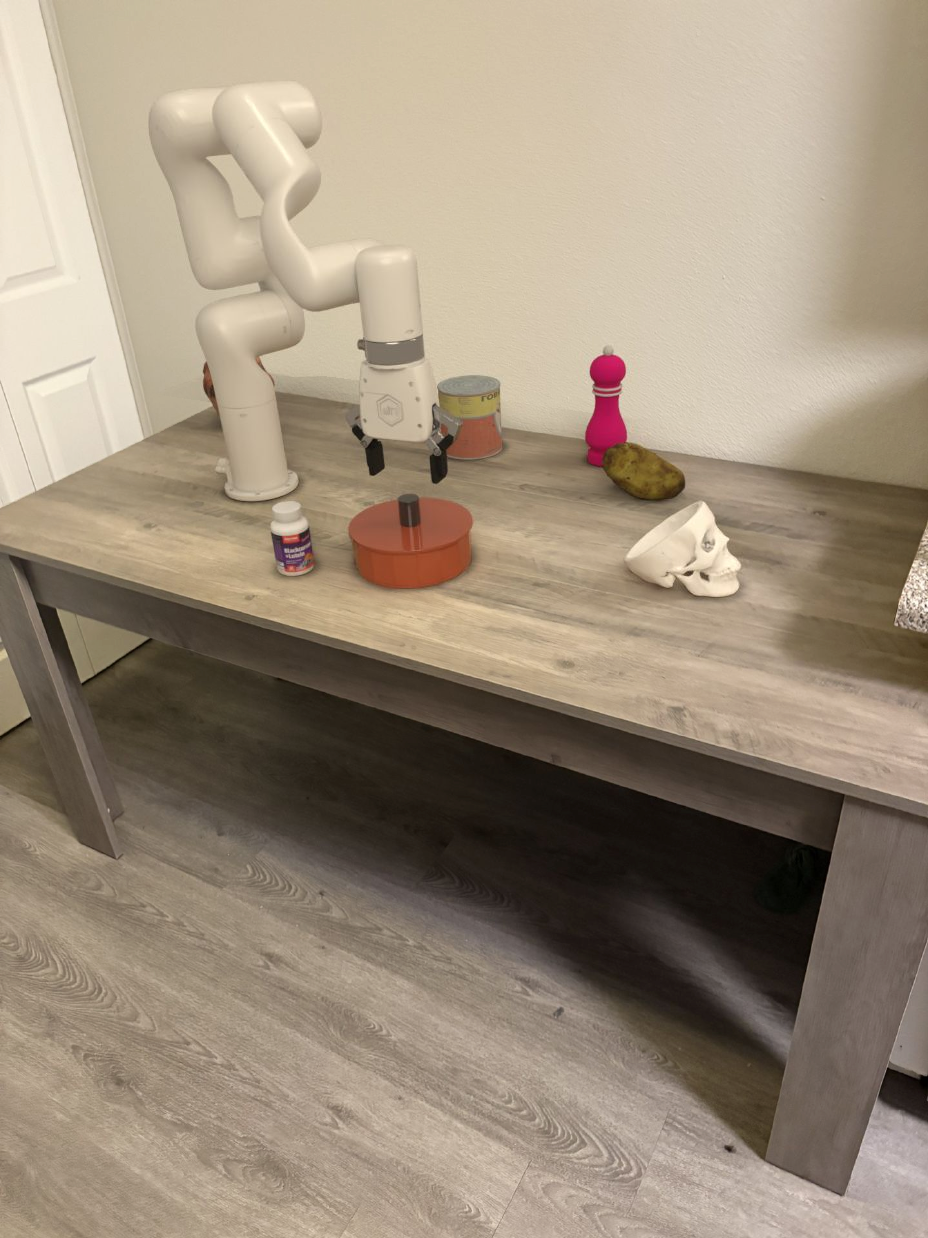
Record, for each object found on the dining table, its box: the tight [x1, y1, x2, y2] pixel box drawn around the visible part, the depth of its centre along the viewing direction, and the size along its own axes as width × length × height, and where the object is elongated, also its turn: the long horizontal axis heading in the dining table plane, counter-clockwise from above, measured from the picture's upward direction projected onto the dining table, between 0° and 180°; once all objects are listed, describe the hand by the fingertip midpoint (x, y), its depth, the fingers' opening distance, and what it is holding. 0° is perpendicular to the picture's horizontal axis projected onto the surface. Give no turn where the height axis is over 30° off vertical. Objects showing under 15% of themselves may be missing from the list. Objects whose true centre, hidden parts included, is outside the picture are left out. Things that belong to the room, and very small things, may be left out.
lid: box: [347, 493, 474, 554], centre depth 129 cm, size 18×18×5 cm
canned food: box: [436, 374, 503, 461], centre depth 167 cm, size 11×11×12 cm
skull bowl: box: [623, 500, 742, 598], centre depth 122 cm, size 10×14×12 cm
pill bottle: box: [269, 500, 315, 577], centre depth 130 cm, size 5×5×10 cm
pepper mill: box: [584, 344, 628, 467], centre depth 156 cm, size 7×7×20 cm
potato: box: [602, 441, 686, 500], centre depth 146 cm, size 8×13×8 cm, turn 46°
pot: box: [351, 530, 473, 589], centre depth 131 cm, size 17×17×6 cm
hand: (407, 476), depth 126 cm, fingers open, 9 cm apart
